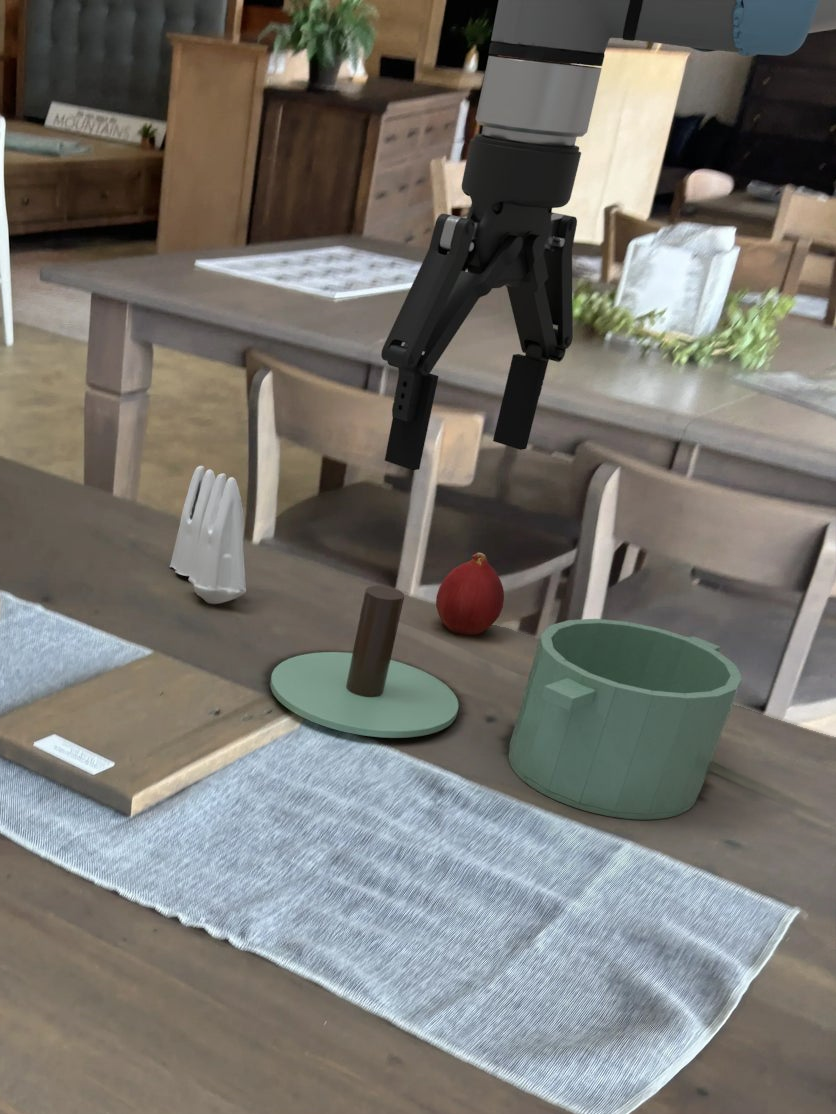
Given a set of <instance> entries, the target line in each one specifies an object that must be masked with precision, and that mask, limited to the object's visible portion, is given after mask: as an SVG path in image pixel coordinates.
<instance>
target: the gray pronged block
mask: <svg viewBox="0 0 836 1114" xmlns="http://www.w3.org/2000/svg"><path fill="white" fill-rule="evenodd" d="M244 534H245V517H244V509H243V503H242V497H241V493H240V487H239V485H238V483H237V479H235V478H234V477H233V476H229V478H228V479H227V474H226V473H224V472H223V473H219V474H217V476H216V475H215V472H214V471H213V470H212V469H207V470H206V471H205V466H203V465H199V466H196V468H195V470H194V472H193V474H192V477H191V479H190V482H189V487H188V490H187V494H186V497H185V501H184V505H183V507H182V511H181V516H180V521H179V526H178V530H177V535H176V539H175V543H174V547H173V551H172V556H171V561H170V565H169V568H173V569H174V570H175V571H174V572H175V573H177V574H178V575H181V576H185V577H188V579H187V580H188V582H189V583H191V584H192V586H193V590H194V591H195V594H196V595H197V596H199V597H200V598H201V599H203V600H204V601H205V602H206V603H207V604H210V605H211V604H212V605H217V604H223V603H226V602H227V603H228V602H230V601H232V600H235V599H237V598H239V597H242V596H243V595H245V594H246V593H247V587H246V571H245V570H246V569H245V568H246V567H245V557H244Z"/></svg>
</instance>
